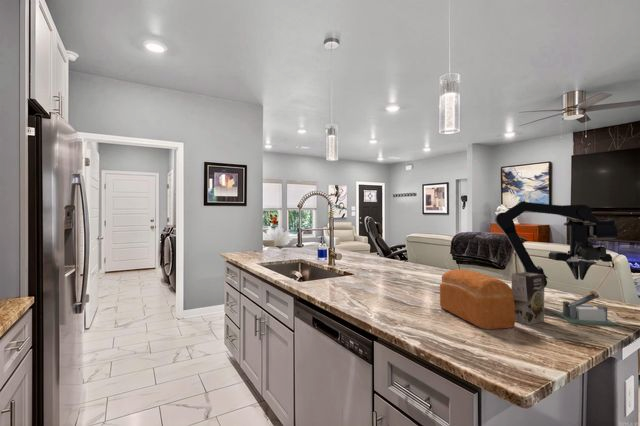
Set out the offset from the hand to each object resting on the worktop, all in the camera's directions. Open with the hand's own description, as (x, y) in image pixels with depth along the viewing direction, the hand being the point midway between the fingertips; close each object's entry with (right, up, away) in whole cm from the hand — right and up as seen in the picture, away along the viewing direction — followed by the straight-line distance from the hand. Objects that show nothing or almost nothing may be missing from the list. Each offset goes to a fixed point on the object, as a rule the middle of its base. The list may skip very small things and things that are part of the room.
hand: (579, 279), depth 122 cm
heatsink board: (-5, -12, -9) cm, 16 cm away
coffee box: (-26, -12, -10) cm, 30 cm away
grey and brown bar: (-6, -6, -9) cm, 12 cm away
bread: (-42, -12, -6) cm, 44 cm away
